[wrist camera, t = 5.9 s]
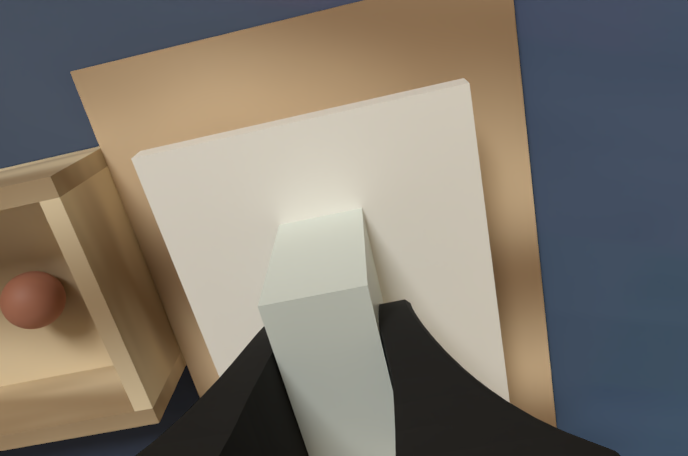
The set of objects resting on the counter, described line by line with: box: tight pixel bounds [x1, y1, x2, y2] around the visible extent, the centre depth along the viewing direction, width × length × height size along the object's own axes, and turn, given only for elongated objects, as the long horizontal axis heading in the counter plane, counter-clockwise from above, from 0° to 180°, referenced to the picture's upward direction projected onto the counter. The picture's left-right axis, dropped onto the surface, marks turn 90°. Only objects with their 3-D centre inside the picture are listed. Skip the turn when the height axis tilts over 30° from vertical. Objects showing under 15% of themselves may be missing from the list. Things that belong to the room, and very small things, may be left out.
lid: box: [131, 78, 510, 456], centre depth 13 cm, size 8×11×5 cm
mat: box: [70, 0, 557, 428], centre depth 16 cm, size 14×11×1 cm
